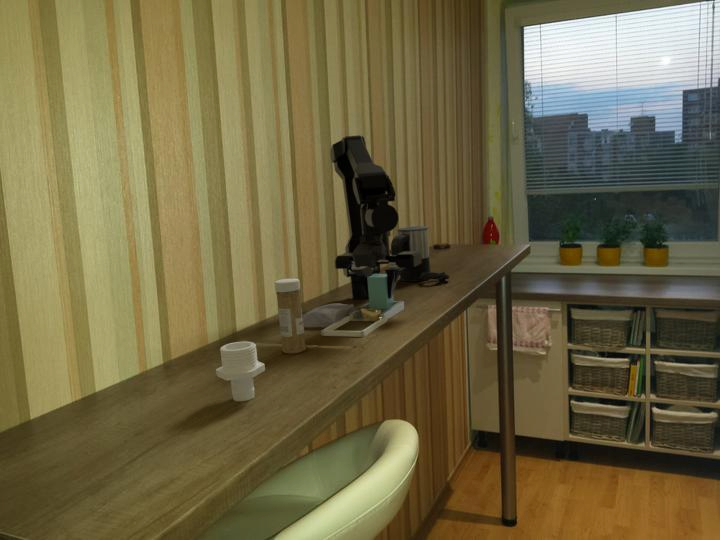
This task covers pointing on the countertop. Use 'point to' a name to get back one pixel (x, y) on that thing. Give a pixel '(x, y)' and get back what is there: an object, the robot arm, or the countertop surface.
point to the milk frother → (415, 242)
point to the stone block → (326, 315)
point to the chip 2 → (373, 315)
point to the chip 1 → (365, 311)
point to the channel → (387, 312)
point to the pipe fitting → (240, 368)
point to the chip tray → (332, 332)
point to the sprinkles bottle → (290, 315)
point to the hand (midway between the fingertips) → (380, 298)
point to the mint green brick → (379, 292)
